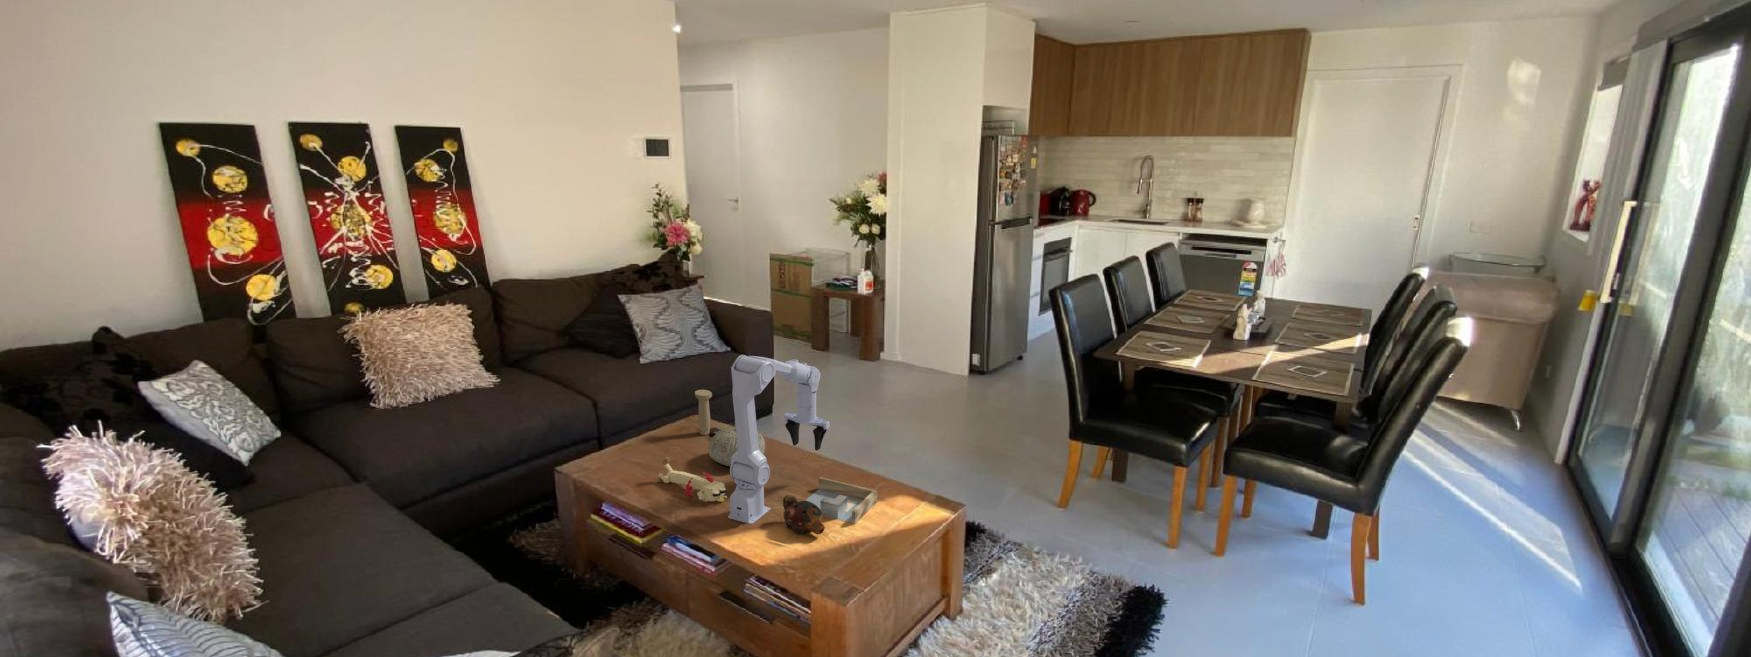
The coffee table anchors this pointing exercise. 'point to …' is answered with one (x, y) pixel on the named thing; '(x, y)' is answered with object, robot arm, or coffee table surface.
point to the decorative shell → (728, 446)
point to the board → (820, 494)
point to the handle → (704, 410)
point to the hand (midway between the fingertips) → (806, 446)
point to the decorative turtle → (802, 515)
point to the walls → (851, 495)
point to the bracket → (834, 506)
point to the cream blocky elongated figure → (694, 483)
